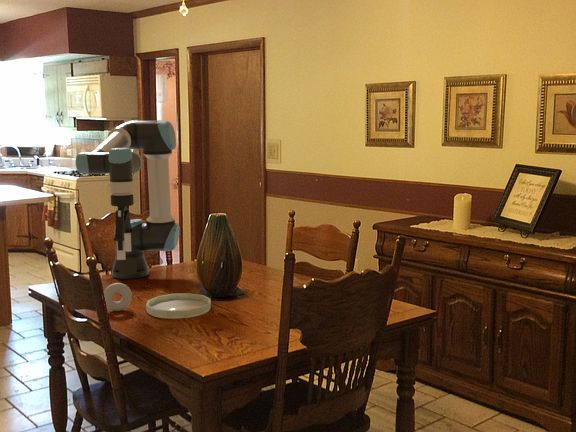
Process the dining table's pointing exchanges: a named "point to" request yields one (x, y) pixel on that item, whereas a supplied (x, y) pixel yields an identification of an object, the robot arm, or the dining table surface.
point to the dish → (178, 306)
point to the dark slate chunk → (203, 292)
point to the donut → (124, 301)
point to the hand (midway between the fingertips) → (124, 255)
